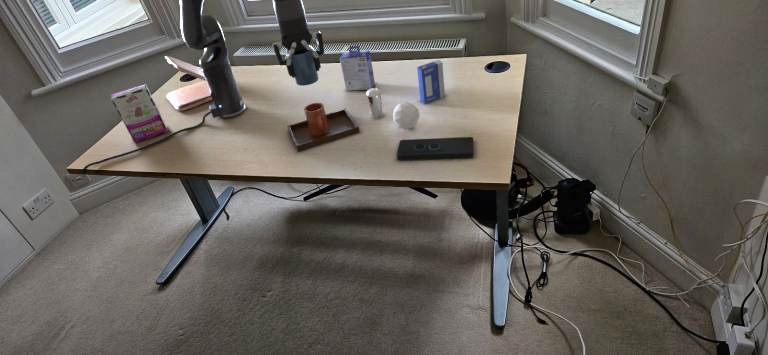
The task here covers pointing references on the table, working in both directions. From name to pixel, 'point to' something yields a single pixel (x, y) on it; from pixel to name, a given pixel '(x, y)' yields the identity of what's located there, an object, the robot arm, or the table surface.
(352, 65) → the ink cartridge box
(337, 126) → the tray
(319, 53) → the robot arm
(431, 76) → the walkman
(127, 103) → the candy bar box
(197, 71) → the case
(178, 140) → the table surface
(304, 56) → the glass
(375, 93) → the milkshake
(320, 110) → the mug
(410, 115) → the geometric ball
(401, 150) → the smart home device
